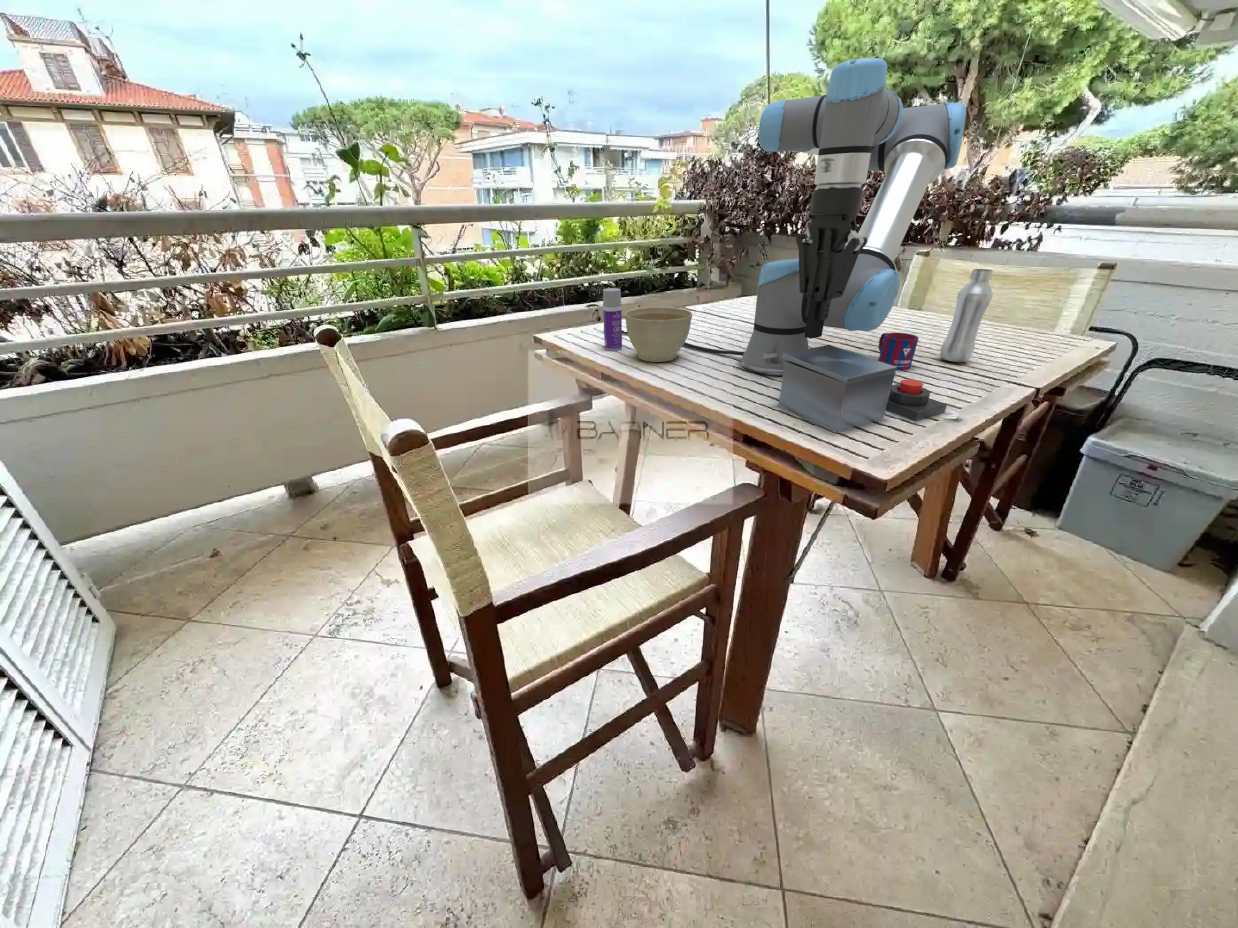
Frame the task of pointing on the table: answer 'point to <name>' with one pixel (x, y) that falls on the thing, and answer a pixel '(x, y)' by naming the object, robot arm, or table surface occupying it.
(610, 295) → the container
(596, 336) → the table surface
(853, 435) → the table surface
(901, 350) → the mug
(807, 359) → the lid
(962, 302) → the silver metal bottle
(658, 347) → the planter bowl
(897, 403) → the button base
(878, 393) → the tin
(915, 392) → the button
